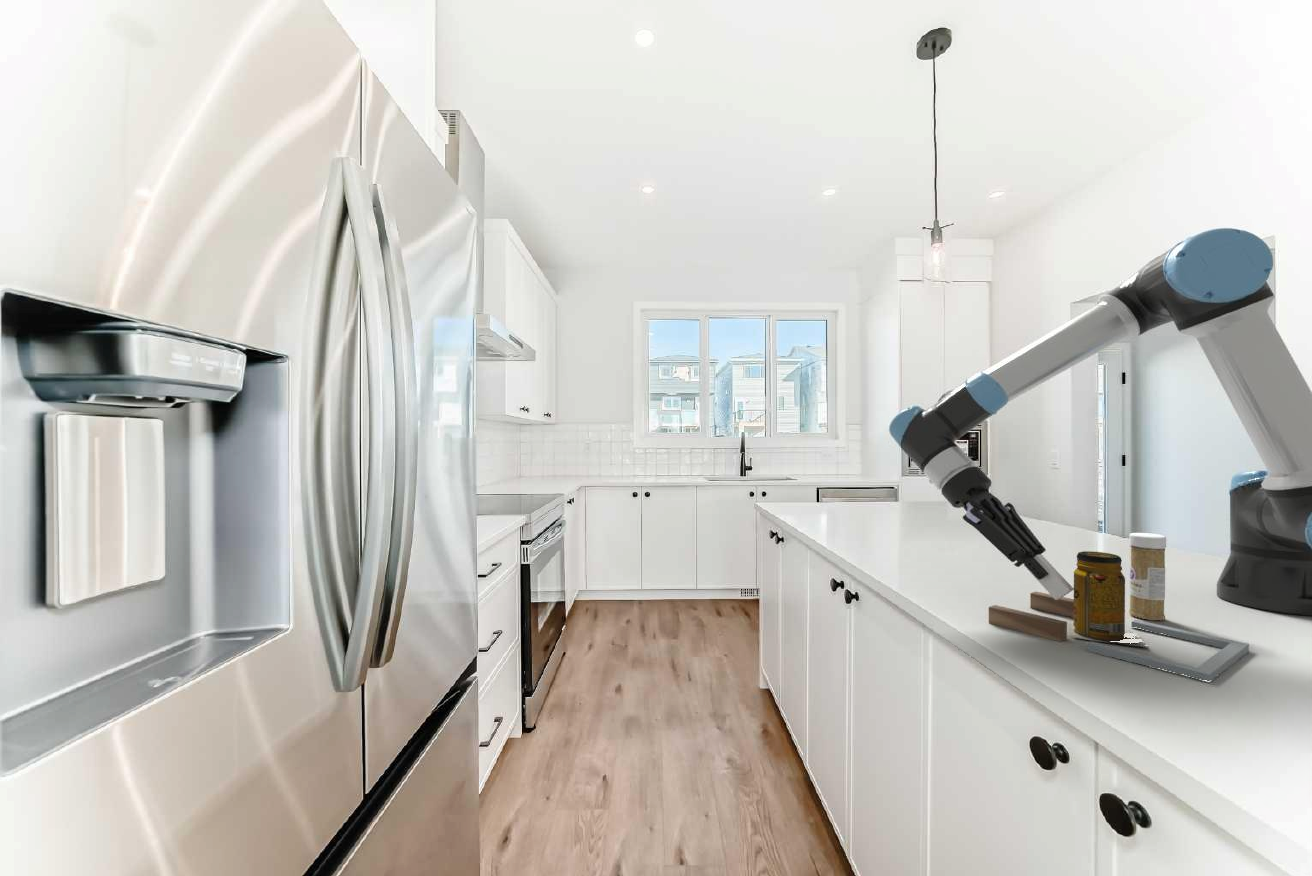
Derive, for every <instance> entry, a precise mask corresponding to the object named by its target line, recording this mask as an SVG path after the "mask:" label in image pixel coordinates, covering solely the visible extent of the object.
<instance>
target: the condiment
mask: <svg viewBox="0 0 1312 876" xmlns="http://www.w3.org/2000/svg"><path fill="white" fill-rule="evenodd" d="M1076 567H1077V568H1076V569H1075V570H1074V571H1073V588H1074V590H1073V599H1074V610H1073V611H1074V618H1073V624H1072V623H1068V627H1069V630H1070V632H1071V634H1072V637H1073V638H1074V639H1075V638H1076V639H1080V640H1082V639H1083V640H1086V641H1087V640H1088V641H1093V642H1097V643H1109V644H1110V643H1111V644H1119V645H1126V646H1132V647H1143V648H1150V647H1149V645H1147V643H1145V642H1144V643H1143V642H1139V643H1131V644H1130V643H1117V642H1110V641H1120V640H1123V639H1131V638H1127V637H1125V638H1124V634H1125V633H1128V632H1129V633H1135V632H1133V631H1126V629H1125V628H1126V578H1125V576H1124V574H1123V572H1122V570H1123V566H1122V558H1121V556H1119V555H1117V554H1114V553H1109V552H1101V551H1090V550H1089V551H1087V550H1086V551H1085V550H1084V551H1079V552H1078V553H1077V555H1076ZM1125 631H1126V632H1125ZM1137 636H1138V635H1137ZM1137 636H1135V639H1142V640H1143V638H1142V636H1140V637H1137ZM1133 637H1134V636H1133ZM1132 639H1134V638H1132ZM1139 645H1140V646H1139ZM1145 645H1147V646H1145Z"/></svg>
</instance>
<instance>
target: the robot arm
mask: <svg viewBox="0 0 1312 876" xmlns="http://www.w3.org/2000/svg"><path fill="white" fill-rule="evenodd" d="M1273 257H1274V256H1273V253H1272V250H1271V249H1270V247H1269V246H1268V244H1267V243H1266V242H1265V241H1264V240H1263V239H1262V238H1261V237H1259V236H1258V235H1256V234H1254V233H1253V232H1250V231H1247V230H1244V229H1238V228H1232V227H1231V228H1228V227H1223V228H1214V229H1209V230H1205V231H1202V232H1200V233H1198V234H1195V235H1192V236H1189V237H1187V238H1186V239H1184V240H1182V241H1180V242H1178V243H1177V244H1175V245H1174V246H1173V247H1171V248H1170V249H1168V250H1166V251H1164V253H1162V254H1160V255H1159V256H1157V257H1155V258H1154V259H1152V260H1150V261H1149V262H1148V263H1146V264H1145V265H1144V266H1142V268H1140V269H1138V271H1137V272H1135V273H1134V274H1132V276H1130V277H1129V278H1128V279H1126V280H1125V281H1123V282H1122V283H1120V285H1118V286H1117V287H1115V288H1113V289H1112V290H1110V291H1109V292H1106V293H1105V294H1103V295H1101V297H1100V298H1099V300H1098V304H1097V305H1095V306H1093V307H1092V308H1090V309H1089V310H1087V311H1085V312H1083V313H1082V314H1079V315H1078V316H1076V317H1075V318H1073V319H1071V320H1069V321H1068V322H1066V323H1064V324H1063V325H1061V326H1059V327H1057V328H1056V329H1054V330H1052V331H1051V332H1050V333H1047V334H1046V335H1044V336H1042V337H1040V338H1039V339H1037V340H1036V341H1034V342H1032V343H1030V344H1028V345H1027V346H1025V347H1023V348H1022V349H1020V350H1018V351H1017V352H1014V353H1013V354H1011V355H1010V356H1008V357H1007V358H1004V359H1003V360H1001V361H999V362H998V363H996V364H994V365H992V366H991V367H989V368H988V369H985V370H984V371H981V372H977V373H975V374H974V375H973V376H971V377H970V378H967V379H965V381H964V382H962V383H961V384H959V386H956V387H955V388H953V389H950V390H949V391H947V392H945V393H944V394H942V395H941V396H940V398H939V399H938V400H937V401H938V402H936V403H935V404H934V405H932V406H931V407H928V408H927V409H924V408H922V407H921V406H919V405H911V406H909V407H908V408H907V409H902V410H901V411H899V412H898V413H897V415H896V416H894V417H893V419H892V420H891V422H890V424H889V427H888V431H889V434H890V436H891V437H892V438H893V440H894V441H895V442H896V444H897V445H898V446H899V447H900V448H901V450H902V451H904V453H905V454H906V455H907V457H908V458H909V459H911V461H912V462H913V463H914V464H915V466H917V467H918V468H919V470H921V472H922V473H923V474H924V475H925V476H926V477H927V478H928V482H929V483H930V484H933V485H934V486H935V487H936V489H937V490H940V491H941V495H942V496H943V497H944V499H946V500H947V501H948V503H949V504H950V505H951V506H952V507H953V508H955V509H960V508H963V509H964V511H966V513H965V514H964V515H963V516H962V519H963V520H964V521H965V522H966V523H967V524H969V525H970V526H972V527H973V528H975V530H976V531H978V532H979V534H981V535H982V536H983V537H984V538H985V539H986V540H987V541H989V543H991V544H992V545H993V546H994V547H995V548H996V549H997V550H998V551H999V552H1000V553H1001V554H1003V555H1004V557H1006V558H1007V559H1008V560H1009V561H1010V562H1012V563H1014V564H1013V565H1014V566H1015V567H1018V568H1019V567H1021V566H1022V565H1023V566H1024V567H1025V568H1026V570H1028V571H1029V573H1030V574H1031V575H1032V576H1033V577H1034V578H1035V579H1036V580H1037V582H1039V583H1040V585H1041V586H1042V587H1043V588H1044V589H1045V591H1047V592H1048V594H1050V595H1051V596H1052V597H1053V598H1054V599H1055V600H1058V599H1060V598H1062V597H1066V595H1068V594H1070V592H1073V591H1074V586H1072V585H1071V584H1070V583H1069V582H1068V581H1067V579H1065V578H1064V576H1062V574H1061V573H1060V572H1059V571H1058V570H1057V569H1056V568H1055V567H1054V566H1053V565H1052V563H1050V562H1049V561H1048V560H1047V558H1045V556H1044V555H1043V553H1045V552H1047V549H1046V548H1045V546H1043V545H1042V543H1041V542H1040V541H1039V539H1038V538H1037V537H1036V535H1035V534H1034V532H1032V530H1031V529H1030V528H1029V526H1028V525H1027V524H1026V523H1025V521H1024V520H1023V519H1022V518H1021V516H1020V515H1019V514H1018V512H1017V510H1016V508H1015V506H1013V504H1012V503H1010V502H1007V503H1006V504H1005V505H1004V504H1003V503H1002V501H1001V500H1000V499H999V498H998V497H996V496H995V495H994V494H992V493H991V492H990V488H991V486H992V480H991V478H989V476H987V474H986V473H985V472H983V470H982V469H981V468H980V467H979V466H975V465H976V464H975V461H973V459H972V458H970V456H969V455H967V453H966V452H965V451H964V450H963V449H962V448H960V446H958V445H957V444H956V443H955V442H956V441H958V440H959V439H961V438H962V437H963V436H964V435H966V434H967V433H969V432H971V430H973V429H974V428H976V427H978V426H979V425H980V424H982V422H984V421H987V419H989V418H990V417H992V416H993V415H996V414H997V413H998V412H999V411H1000V410H1001V409H1002V408H1004V407H1005V406H1006V405H1007V404H1008V403H1009V402H1011V401H1013V400H1014V399H1016V398H1018V397H1019V396H1021V395H1023V394H1025V393H1027V392H1028V391H1031V390H1032V389H1034V388H1036V387H1038V386H1039V385H1041V384H1043V383H1045V382H1046V381H1049V380H1050V379H1052V378H1054V377H1056V376H1057V375H1060V374H1061V373H1062V372H1065V371H1066V370H1069V369H1071V368H1072V367H1074V366H1075V365H1077V364H1079V363H1081V362H1083V361H1084V360H1086V359H1089V358H1090V357H1092V356H1094V355H1096V354H1097V353H1099V352H1100V351H1102V350H1104V349H1106V348H1108V347H1110V346H1112V345H1113V344H1115V343H1117V342H1118V341H1120V340H1122V339H1124V338H1127V339H1135V338H1138V337H1139V336H1141V335H1143V334H1145V333H1146V332H1148V331H1150V330H1153V329H1155V328H1158V327H1160V326H1163V325H1166V324H1169V323H1171V322H1173V323H1174V325H1175V326H1176V328H1177V331H1178V332H1179V333H1180V334H1183V335H1188V336H1192V337H1193V338H1196V340H1197V342H1198V343H1199V345H1200V347H1201V349H1202V351H1203V352H1204V355H1205V357H1206V359H1207V360H1208V362H1209V365H1210V366H1211V368H1212V369H1213V372H1214V374H1215V375H1216V377H1217V379H1218V381H1219V382H1220V385H1221V386H1222V388H1223V391H1224V392H1225V393H1226V395H1227V397H1228V399H1229V401H1230V403H1231V405H1232V407H1233V409H1234V410H1235V413H1236V414H1237V416H1238V418H1239V419H1240V421H1241V424H1242V425H1243V427H1244V429H1245V431H1246V433H1247V435H1248V437H1249V438H1250V440H1251V442H1252V444H1253V445H1254V447H1255V449H1256V451H1257V453H1258V455H1259V457H1260V459H1261V461H1262V462H1263V465H1264V466H1265V468H1266V470H1249V471H1240V472H1237V473H1236V474H1234V475H1233V476H1232V477H1231V479H1230V480H1231V481H1230V488H1229V491H1228V495H1229V512H1230V513H1229V516H1230V518H1229V521H1230V522H1229V528H1230V529H1229V530H1230V531H1229V532H1230V533H1229V537H1230V545H1229V547H1230V553H1229V557H1228V558H1227V560H1226V562H1225V565H1224V566H1223V569H1222V571H1221V573H1220V576H1219V577H1218V580H1217V582H1216V596H1217V597H1219V598H1220V599H1222V600H1225V601H1227V602H1231V603H1234V604H1237V605H1241V606H1245V607H1250V608H1255V609H1260V610H1266V611H1271V612H1277V613H1284V614H1293V615H1303V616H1312V390H1311V387H1309V385H1308V383H1307V380H1305V378H1304V376H1303V374H1302V372H1301V371H1300V369H1299V366H1298V365H1297V363H1296V361H1295V359H1294V358H1293V356H1292V353H1290V351H1289V348H1288V346H1287V345H1286V343H1285V342H1284V340H1283V338H1282V337H1281V335H1280V333H1279V331H1278V329H1277V327H1276V325H1275V324H1274V321H1273V320H1272V318H1271V316H1270V315H1269V312H1268V310H1269V308H1270V307H1271V304H1272V302H1274V300H1275V297H1276V296H1275V294H1274V293H1273V290H1272V289H1271V286H1270V285H1269V283H1268V282H1267V280H1268V279H1269V278H1270V275H1271V271H1272V270H1273V267H1274V258H1273Z"/></svg>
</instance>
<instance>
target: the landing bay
mask: <svg viewBox="0 0 1312 876" xmlns="http://www.w3.org/2000/svg"><path fill="white" fill-rule="evenodd" d="M1131 627H1137V628H1141V629H1144V630H1148V631H1152V632H1156V633H1163V634H1166V635H1170V636H1173V637H1172V638H1174V637H1176V638H1175V639H1178V638H1179V639H1180V640H1183V639H1187V640H1191V641H1190V642H1192V641H1195V642H1194V643H1196V642H1199V643H1198V644H1201V643H1202V644H1201V645H1206V646H1210V645H1212V646H1211V647H1215V648H1220V650H1219V651H1217V652H1216V653H1215V654H1213V655H1211V656H1210V657H1209V658H1207V660H1205V661H1204V662H1203V663H1201V664H1199V665H1198V666H1196V667H1195V666H1191V665H1188V664H1183V663H1180V662H1176V661H1170V660H1168V659H1165V658H1164V659H1163V658H1160V657H1156V656H1152V655H1148V654H1143V653H1140V652H1135V651H1132V650H1129V649H1124V648H1119V647H1117V646H1116V647H1115V646H1111V645H1107V644H1103V643H1101V642H1097V641H1093V640H1090V641H1089V642H1087V643H1086V652H1090V653H1094V654H1099V655H1102V656H1105V657H1109V656H1111V657H1110V658H1112V657H1115V658H1114V659H1116V658H1119V659H1118V660H1120V659H1123V660H1122V661H1124V660H1126V661H1125V662H1128V661H1130V662H1129V663H1132V662H1136V663H1139V664H1143V665H1147V666H1151V667H1154V668H1160V669H1164V670H1167V671H1171V672H1175V673H1177V674H1184V675H1187V676H1190V677H1194V678H1197V679H1201V680H1207V681H1210V680H1213V679H1214V678H1215V677H1216V676H1217V675H1219V674H1220V675H1221V674H1222V672H1223V671H1224V670H1225V671H1227V669H1229V668H1230V667H1231V666H1233V665H1234V664H1235V663H1236V662H1238V661H1239V660H1240V659H1242V657H1243V656H1245V655H1246V654H1248V653H1249V652H1250V644H1249V643H1246V642H1243V641H1237V640H1233V639H1227V638H1223V637H1218V636H1213V635H1209V634H1204V633H1200V632H1194V631H1190V630H1186V629H1180V628H1176V627H1170V626H1168V625H1161V624H1157V623H1152V622H1146V621H1145V620H1144V621H1143V620H1139V619H1134V620H1131ZM1131 627H1130V628H1131ZM1152 632H1151V633H1152ZM1156 633H1155V634H1156ZM1170 636H1169V637H1170ZM1187 640H1186V641H1187ZM1139 664H1138V665H1139ZM1143 665H1142V666H1143ZM1147 666H1146V667H1147ZM1151 667H1150V668H1151ZM1154 668H1153V669H1154ZM1225 671H1224V672H1225ZM1177 674H1176V675H1177ZM1220 675H1219V676H1220ZM1216 678H1217V677H1216ZM1216 678H1215V679H1216ZM1215 679H1214V680H1215ZM1214 680H1213V681H1214Z"/></svg>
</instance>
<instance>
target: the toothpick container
mask: <svg viewBox="0 0 1312 876" xmlns="http://www.w3.org/2000/svg"><path fill="white" fill-rule="evenodd" d="M1166 537H1167V536H1164V535H1162V534H1158V533H1150V532H1149V533H1147V532H1132V533H1130V534H1129V537H1128V539H1129V541H1128V543H1129V545H1130V546H1129V547H1130V568H1129V569H1130V570H1129V574H1130V575H1129V595H1130V596H1129V597H1130V599H1129V600H1130V601H1129V611H1128V613H1129V615H1130V616H1132V615H1133V616H1132V617H1134V616H1135V617H1134V618H1137V617H1139V618H1138V619H1140V618H1142V619H1141V620H1144V619H1147V620H1146V621H1155V620H1156V621H1158V620H1160V621H1164V620H1165V619H1166V616H1165V599H1166V567H1165V566H1166V562H1165V561H1166V560H1165V557H1166V555H1165V554H1166V553H1165V552H1166V548H1167V538H1166Z"/></svg>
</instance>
